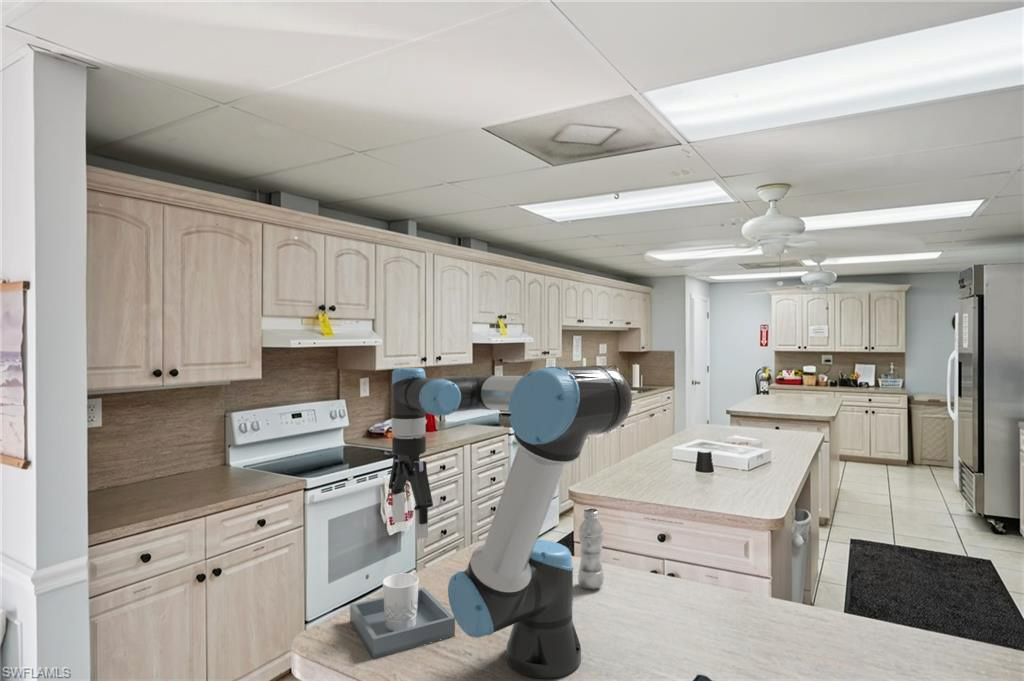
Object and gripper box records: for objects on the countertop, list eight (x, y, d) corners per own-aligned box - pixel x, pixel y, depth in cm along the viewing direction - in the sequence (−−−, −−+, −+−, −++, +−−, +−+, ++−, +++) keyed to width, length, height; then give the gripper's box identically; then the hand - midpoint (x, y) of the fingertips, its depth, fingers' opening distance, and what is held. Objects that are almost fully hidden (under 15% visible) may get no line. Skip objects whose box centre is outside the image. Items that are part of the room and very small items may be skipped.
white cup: (422, 617, 135) (422, 573, 135) (413, 634, 127) (413, 588, 127) (388, 615, 136) (388, 572, 136) (378, 633, 128) (378, 587, 128)
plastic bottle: (573, 584, 155) (573, 508, 154) (595, 580, 157) (595, 505, 157) (586, 594, 149) (586, 515, 149) (608, 589, 152) (608, 512, 151)
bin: (454, 636, 128) (454, 617, 128) (373, 659, 119) (373, 639, 119) (424, 603, 144) (424, 587, 144) (350, 621, 135) (350, 604, 135)
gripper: (448, 442, 125) (448, 542, 125) (404, 427, 146) (404, 512, 146) (414, 445, 121) (415, 548, 121) (374, 430, 142) (375, 517, 142)
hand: (409, 529), depth 134 cm, fingers open, 13 cm apart
